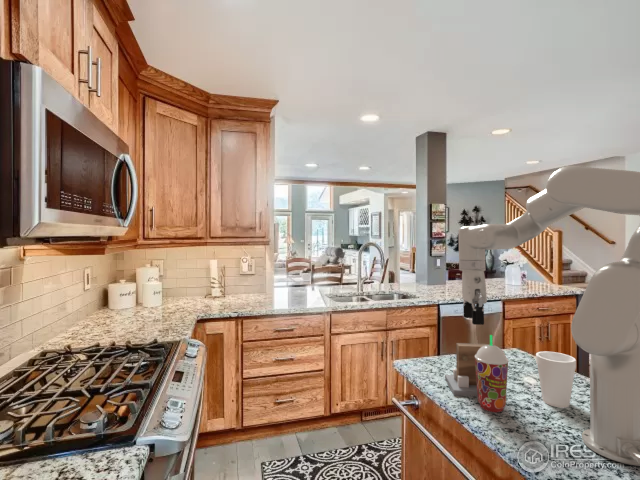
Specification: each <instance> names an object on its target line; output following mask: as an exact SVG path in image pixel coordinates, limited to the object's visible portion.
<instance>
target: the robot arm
mask: <svg viewBox="0 0 640 480" xmlns="http://www.w3.org/2000/svg"><path fill="white" fill-rule="evenodd" d="M545 186H546V187H545V189H543V190H541V191H540V192H538V193H536V194H534V195H532V196H531V197H529V198H528V199H527V200H526V202H525V208H526V211H525V212H524V213H523V214H522V215H521V216H519V217H517V218H515V219H513V220H511V221H510V222H508V223H484V224H480V225H467V226H462V227H459V229H458V269H459V271H461V272H462V273H461V295H462V299H463V303H462V304H463V306H462V307H463V318H466V319H471V323H472V325H475V326H476V325H480V326H482V325H484V324H485V305H484V304H487V302H488V299H487V287H486V286H487V285H486V276H485V272H486V250H487V251H490V250H491V251H492V250H493V251H494V250H510V249H513V248H516V247H518V246H520V245H523V244H524V243H527V242H529V241H531V240H533V239H534V238H536V237H538V236H539V235H541V233H543V232H544V231H545V230H546V229H547V228H548V227H550V226H551V225H553V224H555V223H557V222H558V221H561V220H563V219H565V218H567V217H569V216H570V215H573V214H575V213H577V212H580V210H582V209H585V208H586V209H592V210H598V211H602V212H608V213H614V214H617V215H618V214H620V215H627V216H628V215H629V216H630V215H631V216H639V217H640V171H634V170H623V169H612V168H602V167H601V168H599V167H589V166H582V165H576V164H575V165H565V166H562V167H560V168H558V169H557V170H555V171H554V172H552V174H551V175H550V176H549V177H548V179H547V180H546V183H545ZM627 244H628V245H627V247H626V249H625V250H624V252H623V254H622V256H621V258H620V259H619V260H618V261H614V262H610V263H606V264H605V265H603V266H600V268H598V269H597V270H596V271H595V272H594V274H592V276H591V277H590V279H589V281H588V283H587V285H586V287H585V289H584V292H583V295H582V296H581V299H580V301H579V303H578V306H577V308H576V311H575V313H574V315H573V316H572V320H571V325H570V330H571V335H572V339H573V340H574V342H575V344H576V345H577V347H579V348H580V349H582V350H583V351H585V352H586V353H587V354H590V362H589V364H590V365H589V367H590V368H589V371H590V372H589V409H590V410H589V412H590V413H589V416H590V417H589V418H590V421H589V423H590V424H589V425H590V426H589V428H587V429H585V430H583V432H582V433H581V440H582V443H584V445H585V446H586V447H588V449H590V450H592V451H593V452H594V453H596V454H598V455H600V456H602V457H605V458H607V459H609V460H612V461H614V462H618V463H621V464H625V465H630V466H637V467H640V224H639V225H638V226H637V228H636V229H635V231H634V232H633V234H632V235H631V237H630V239H629V242H628V243H627Z"/></svg>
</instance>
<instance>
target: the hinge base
mask: <svg viewBox="0 0 640 480" xmlns="http://www.w3.org/2000/svg"><path fill="white" fill-rule="evenodd" d="M452 372H453V373H452V374H444V380H445V382H446V384H447V386H448V387H449V389H450V392H451V393H452V395H453V396H461V397H477V398H478V394H477V386H476V385H469V377H468V376H457V380H458V382H457V381H456V368H452Z"/></svg>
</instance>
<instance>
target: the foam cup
mask: <svg viewBox="0 0 640 480" xmlns="http://www.w3.org/2000/svg"><path fill="white" fill-rule="evenodd" d="M535 363H536V366H537V370H538V371H537V372H538V378H539V379H538V380H539V385H540V391H541V398H542V402H543V403H545V404H547V405H549V406H552V407H555V408H561V409H563V408H564V409H565V408H569V407H570V403H571V397H572V393H573V392H572V391H573V385H574V377H575V372H576V369H577V360H576V358H575V357H573V356H571V355H569V354H565V353H561V352H557V351H556V352H555V351H548V350H547V351H546V350H544V351H543V350H542V351H538V352H536V353H535Z"/></svg>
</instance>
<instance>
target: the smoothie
mask: <svg viewBox="0 0 640 480" xmlns="http://www.w3.org/2000/svg"><path fill="white" fill-rule="evenodd" d="M475 365H476V379H477V394H478V397H477V401H478V403H479V405H480V407H481V409H483V410H484V411H487V412H490V413H501V412H503V411H504V408H505V407H506V403H507V388H508V387H507V385H508V373H509V372H508V370H509V359H508V358H507V355H506V353H505V352H504V350H502V348H500V347H498V346H497V345H495V344H493V334H489V344H487V345H484V346H482V347H481V348H480V349H479V350H478V351H477V354H476V355H475Z"/></svg>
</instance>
